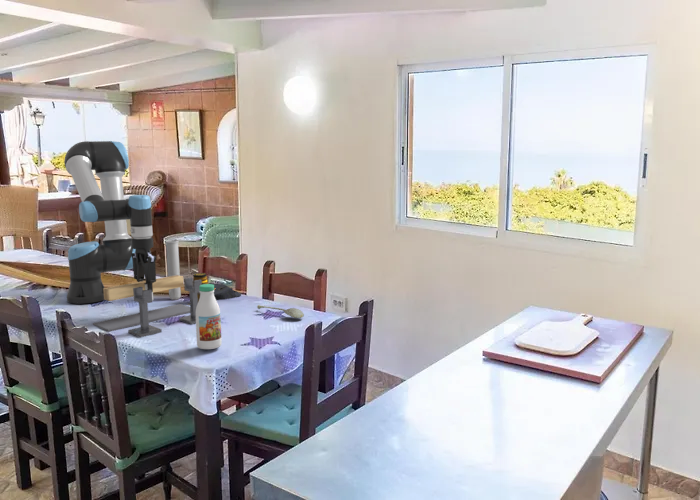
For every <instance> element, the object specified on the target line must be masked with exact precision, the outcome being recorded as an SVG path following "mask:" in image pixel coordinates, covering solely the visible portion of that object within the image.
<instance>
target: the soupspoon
mask: <svg viewBox="0 0 700 500" xmlns="http://www.w3.org/2000/svg"><path fill="white" fill-rule="evenodd" d="M256 308H257V309H258V310H260V309H264V308H265V309H272V310H278V311H282V312H283V313H284V314H286V315H288V316H289V317H291V318H294V319H295V318H296V319H301V318H303V317H304V316H305V314H304V312H303V311H302V310H301V309H299V308H295V307H290V308H288V309H284V308H279V307H274V306H272V307H271V306H267V305H266V306H265V305H261V304H258V305H257V307H256Z"/></svg>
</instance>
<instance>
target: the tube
mask: <svg viewBox="0 0 700 500" xmlns="http://www.w3.org/2000/svg"><path fill="white" fill-rule="evenodd" d="M179 243H180V242H179V240H176V239H170V240H165V246H166V249H165V250H166V266H167V267H166V268H167V277H170V276H176V275H179V276H181V275H180V273H181V271H180V256H179V255H180V253H179ZM181 289H182V287H179V288H174V289H169V290H168V297H169V299H170V300H171V301H172V300H173V301H177V300H179V299H180V298H181V296H182V293H181V292H182V291H181Z"/></svg>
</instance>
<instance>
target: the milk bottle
mask: <svg viewBox="0 0 700 500" xmlns="http://www.w3.org/2000/svg"><path fill="white" fill-rule="evenodd" d="M199 290H200V299H199V302H198V304H197V307H196V324H195V329H196V330H195V331H196V333H195V334H196V346H197V348H198V349H201V350H213V349H214V350H215V349H217V348H219V347H221V346H222V321H221V318H222V317H221V309H220V306H219V304H218V303H219V302H218V300H216V299H215V297H214V285H213V284H203V285H200V286H199Z"/></svg>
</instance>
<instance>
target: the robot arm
mask: <svg viewBox="0 0 700 500" xmlns="http://www.w3.org/2000/svg"><path fill="white" fill-rule="evenodd" d="M63 161H64V162H63V163H64V168H65V169H66V172H67V173H68V174H69V175H71V177H72V181H73V183H74V185H75V187H76V190H77V192H78V194H79V198H80V200H81V202H79V205H78V213H79V217H80V220H81V221H82V222H84V223H96V222H97V223H98V222H104V229H105V230H104V231H105V236H104V238H103V239H102V244H100V243H99V242H98V241H96V240H95V241H94V240H93V241H86V242H85V241H84V242H81V243H77V244H73V245H71V246H70V247H69V248H68V250H67V261H68V269H69V279H70V281H69V282H70V283H69V286H68V291H67V294H66V302H67V303H68V304H77V305H78V304H91V303H97V302H101V301H103V300H105V299H104V291H103V288H106V287H105V286H104V283H103V281H102V275H101V274H102V273H111V272H119V271H123V272H124V271H126V270H133V271H132V272H133V279H134V280H136V282H142V281H146V283H144V284H145V290H148V289H151V290H152V301H154V293H153V285H152V284H153V282H156V279H157V276H156V275H157V273H156V272H157V271H156V269H157V268H156V262H157V261H156V259H157V257H156V255H152V251H151V249H152V248H154V238H153V235H154V233H153V217H152V202H151V201H152V200H151V197H150V196H149V194H148V195H147V194H131V195H129V197H128V198H125V196H124V195H125V193H124V185H123V177H124V175H125V174H126V170H128V169H129V166H130V164H129V162H130V160H129V154H128V151H127V149H126V147H125V145H124V144H123V142H120V141H115V140H113V141H112V140H110V141H109V140H106V141H104V140H103V141H102V140H101V141H98V140H97V141H92V140H91V141H87V140H86V141H85V140H84V141H79V142H77V143H75V144H73V145H72V146H71V147H70V148H69V149H68V150H67V152H66V153H65V156H64V160H63ZM93 171H94V173H95V174H94V173H93ZM95 176H97V178H99V182H100V187H99V184H98V182H97V179H96V178H95ZM127 220H129V223H130V230H129V231H130V234H131V236H130V235H129V233H128V224H127Z"/></svg>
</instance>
